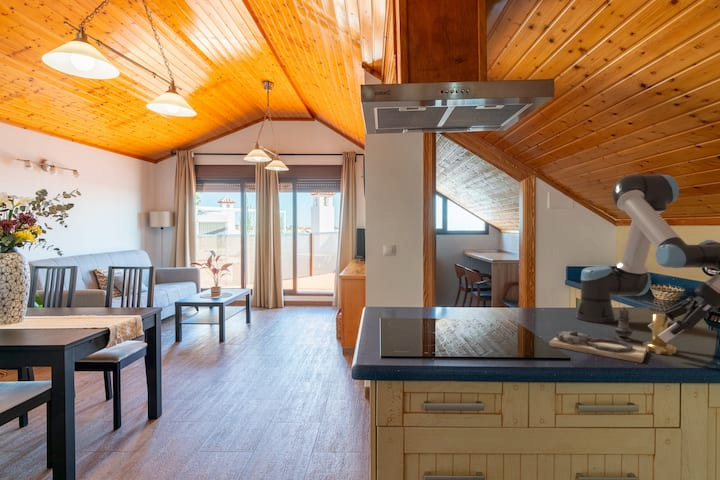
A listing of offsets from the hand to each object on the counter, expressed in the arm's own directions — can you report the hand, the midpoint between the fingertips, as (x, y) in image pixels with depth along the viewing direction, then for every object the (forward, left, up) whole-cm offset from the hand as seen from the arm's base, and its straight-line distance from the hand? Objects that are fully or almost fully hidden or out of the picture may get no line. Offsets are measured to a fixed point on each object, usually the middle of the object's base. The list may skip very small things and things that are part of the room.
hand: (656, 334), depth 129 cm
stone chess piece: (-10, -10, -6) cm, 15 cm away
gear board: (+10, -15, -6) cm, 19 cm away
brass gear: (-1, +1, -6) cm, 6 cm away
